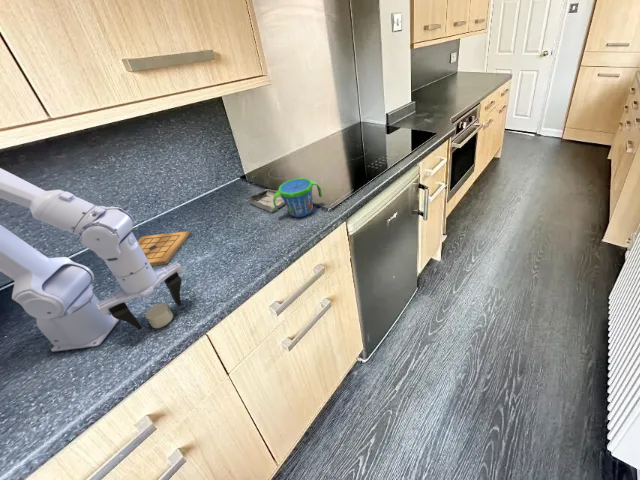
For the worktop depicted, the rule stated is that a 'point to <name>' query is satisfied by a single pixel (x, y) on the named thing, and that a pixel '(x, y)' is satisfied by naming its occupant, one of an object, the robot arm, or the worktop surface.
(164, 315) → the cream cylinder puck
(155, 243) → the board
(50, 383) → the worktop surface
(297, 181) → the snack cup
